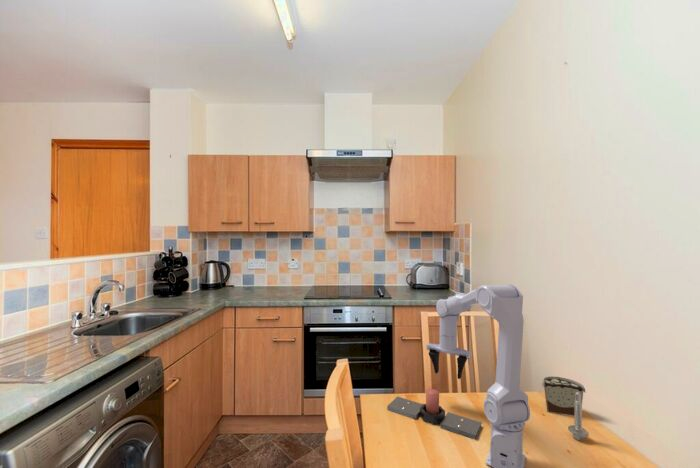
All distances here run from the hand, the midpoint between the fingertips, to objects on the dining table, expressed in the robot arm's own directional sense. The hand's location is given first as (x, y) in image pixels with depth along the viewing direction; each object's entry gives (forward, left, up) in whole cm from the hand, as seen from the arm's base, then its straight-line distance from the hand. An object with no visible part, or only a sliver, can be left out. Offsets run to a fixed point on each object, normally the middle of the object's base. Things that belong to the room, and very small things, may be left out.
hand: (447, 375), depth 105 cm
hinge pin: (-10, +2, -10) cm, 15 cm away
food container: (+20, -32, -11) cm, 39 cm away
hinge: (-10, +2, -10) cm, 15 cm away
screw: (+4, -36, -11) cm, 38 cm away
